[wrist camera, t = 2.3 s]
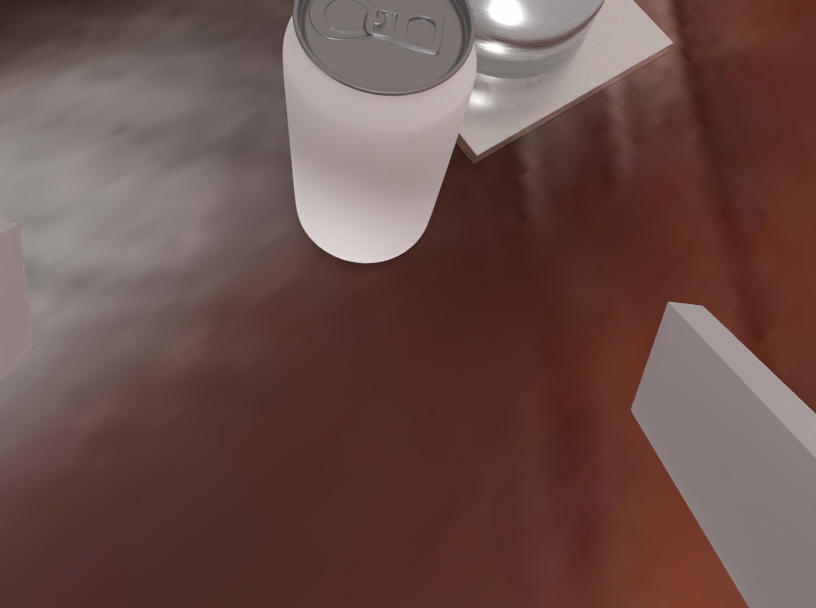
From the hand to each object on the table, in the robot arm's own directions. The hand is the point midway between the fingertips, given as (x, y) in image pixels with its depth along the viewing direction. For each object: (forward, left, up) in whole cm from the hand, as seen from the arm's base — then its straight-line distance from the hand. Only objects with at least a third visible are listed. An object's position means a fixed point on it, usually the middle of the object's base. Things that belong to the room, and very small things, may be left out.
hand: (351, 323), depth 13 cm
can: (-8, +7, -15) cm, 18 cm away
